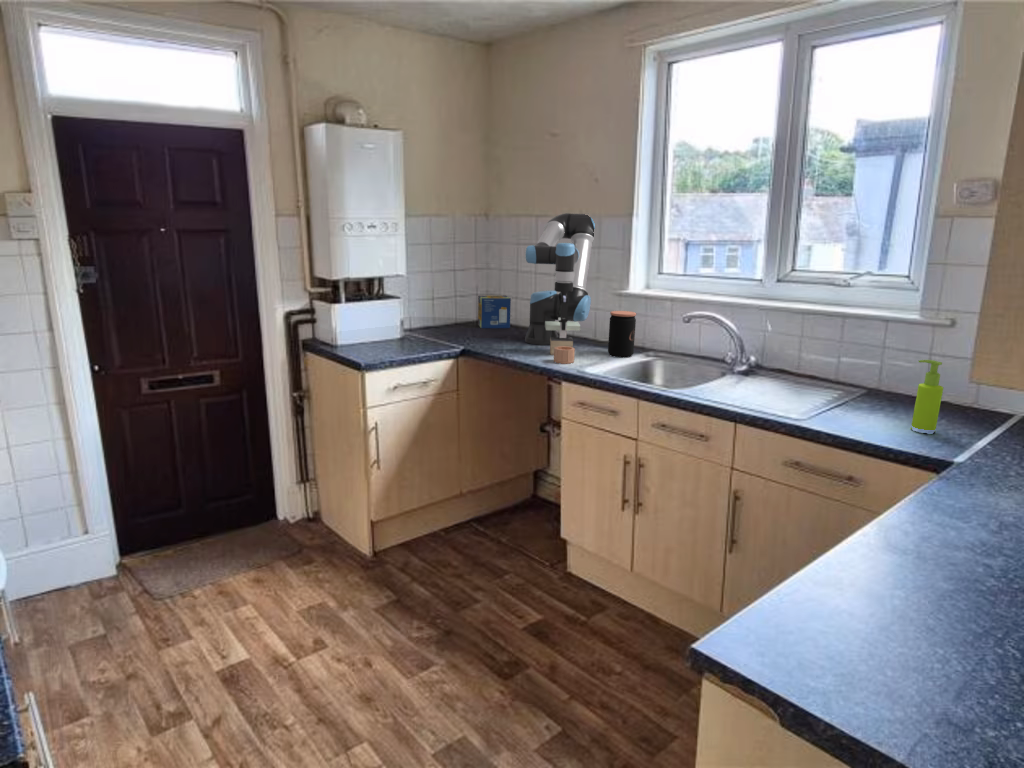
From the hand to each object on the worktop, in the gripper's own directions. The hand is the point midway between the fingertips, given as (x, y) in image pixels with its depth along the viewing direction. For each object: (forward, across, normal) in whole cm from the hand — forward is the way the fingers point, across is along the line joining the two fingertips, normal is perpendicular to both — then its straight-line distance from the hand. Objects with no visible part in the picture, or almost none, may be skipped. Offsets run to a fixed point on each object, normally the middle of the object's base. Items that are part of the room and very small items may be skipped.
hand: (561, 335), depth 280 cm
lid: (-3, 0, 0) cm, 3 cm away
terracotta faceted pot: (+8, +16, 0) cm, 18 cm away
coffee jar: (+8, +1, +25) cm, 26 cm away
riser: (+8, 0, 0) cm, 8 cm away
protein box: (+9, -66, -30) cm, 73 cm away
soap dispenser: (+7, +98, +94) cm, 136 cm away
